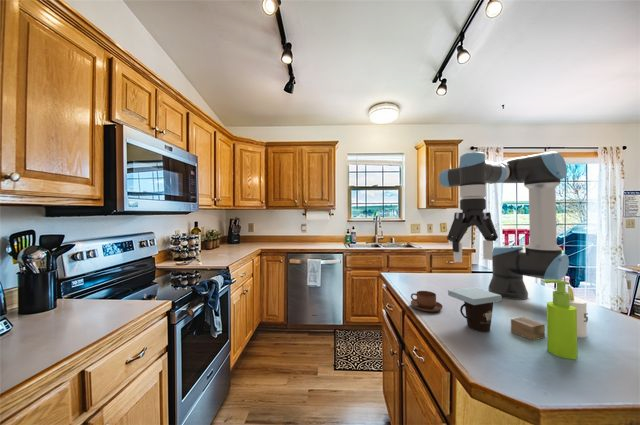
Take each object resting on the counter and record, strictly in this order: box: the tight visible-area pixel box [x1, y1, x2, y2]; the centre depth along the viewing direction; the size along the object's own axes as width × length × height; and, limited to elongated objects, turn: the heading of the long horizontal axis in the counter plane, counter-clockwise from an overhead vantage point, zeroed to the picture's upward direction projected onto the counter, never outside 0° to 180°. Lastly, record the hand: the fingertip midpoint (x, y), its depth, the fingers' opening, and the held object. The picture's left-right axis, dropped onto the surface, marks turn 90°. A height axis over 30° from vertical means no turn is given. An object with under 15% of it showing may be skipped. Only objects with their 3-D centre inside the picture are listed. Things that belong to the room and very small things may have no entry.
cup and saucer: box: [410, 290, 443, 313], centre depth 101 cm, size 12×12×6 cm
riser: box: [510, 316, 546, 341], centre depth 78 cm, size 6×6×4 cm
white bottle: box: [567, 285, 589, 338], centre depth 79 cm, size 6×6×15 cm
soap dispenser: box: [541, 279, 578, 360], centre depth 68 cm, size 6×7×20 cm
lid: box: [447, 286, 502, 305], centre depth 83 cm, size 12×10×2 cm
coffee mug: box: [459, 301, 495, 333], centre depth 83 cm, size 12×9×10 cm
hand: (473, 260), depth 83 cm, fingers open, 13 cm apart
